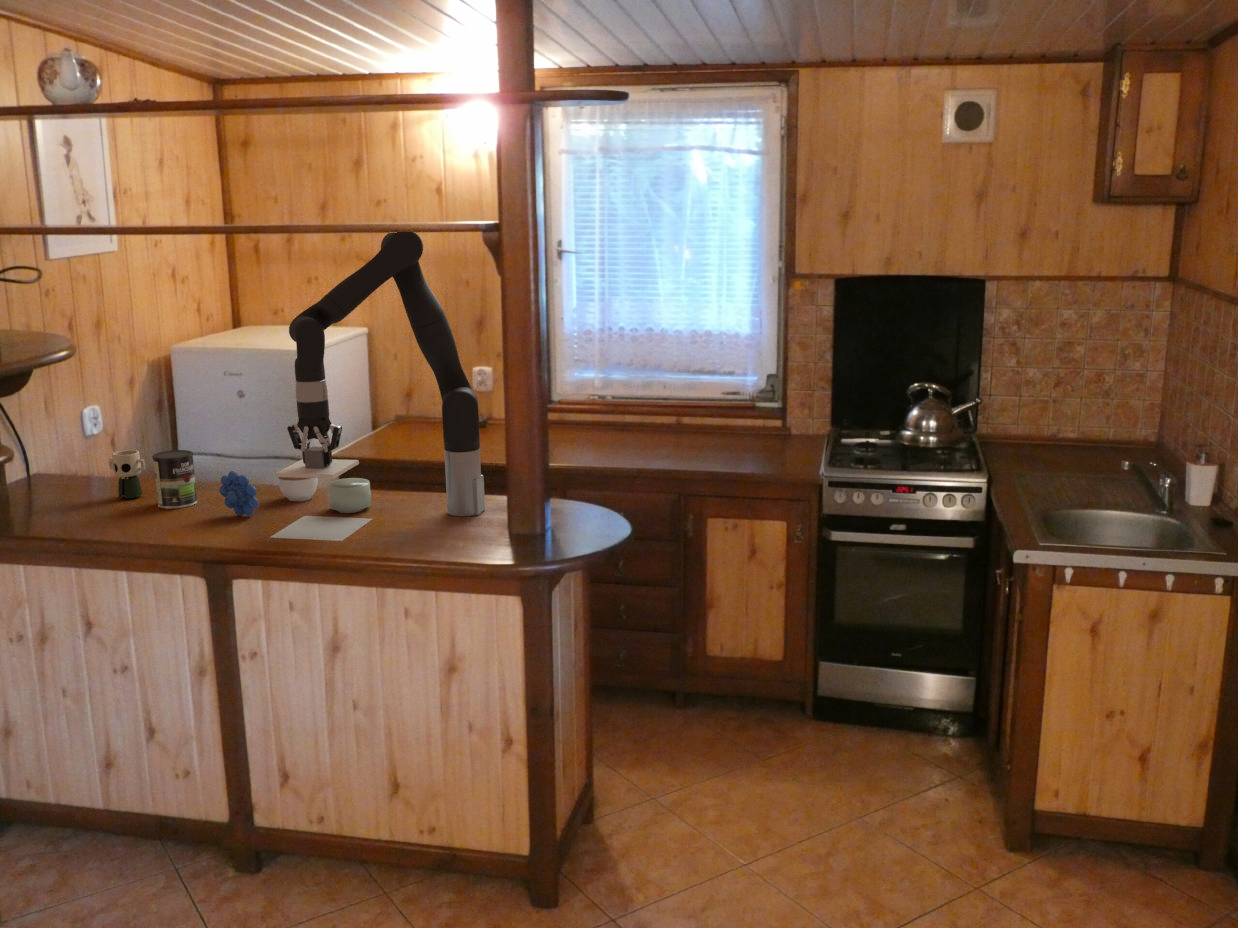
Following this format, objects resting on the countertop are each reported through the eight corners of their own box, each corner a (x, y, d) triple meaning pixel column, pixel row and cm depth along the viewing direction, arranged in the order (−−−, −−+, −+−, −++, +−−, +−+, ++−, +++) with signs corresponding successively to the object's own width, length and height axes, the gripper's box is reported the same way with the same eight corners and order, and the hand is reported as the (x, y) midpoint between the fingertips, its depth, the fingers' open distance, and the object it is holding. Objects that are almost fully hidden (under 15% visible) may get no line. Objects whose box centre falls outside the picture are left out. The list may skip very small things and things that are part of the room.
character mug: (105, 500, 311) (99, 454, 308) (121, 493, 318) (115, 449, 315) (140, 501, 309) (135, 456, 306) (155, 494, 316) (150, 450, 313)
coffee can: (206, 502, 308) (200, 452, 305) (174, 511, 300) (168, 460, 297) (181, 497, 314) (176, 448, 310) (149, 505, 305) (143, 455, 302)
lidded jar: (325, 493, 315) (322, 461, 313) (311, 504, 305) (308, 471, 303) (288, 493, 316) (285, 461, 314) (273, 503, 306) (270, 470, 304)
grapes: (211, 518, 293) (207, 473, 290) (228, 511, 299) (224, 467, 296) (248, 522, 289) (244, 477, 286) (264, 515, 295) (260, 471, 292)
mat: (372, 519, 290) (372, 518, 290) (341, 542, 272) (341, 540, 272) (304, 516, 293) (304, 515, 293) (269, 538, 275) (269, 537, 275)
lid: (358, 463, 284) (357, 442, 283) (333, 478, 270) (331, 456, 269) (304, 462, 287) (302, 441, 286) (276, 476, 273) (274, 455, 272)
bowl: (377, 505, 303) (376, 478, 301) (361, 517, 292) (359, 488, 291) (339, 503, 305) (337, 476, 303) (322, 515, 294) (320, 487, 293)
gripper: (345, 395, 277) (351, 462, 281) (292, 395, 279) (298, 461, 283) (332, 401, 269) (338, 470, 274) (277, 400, 272) (284, 468, 276)
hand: (317, 465), depth 278 cm, fingers closed on lid, 4 cm apart
